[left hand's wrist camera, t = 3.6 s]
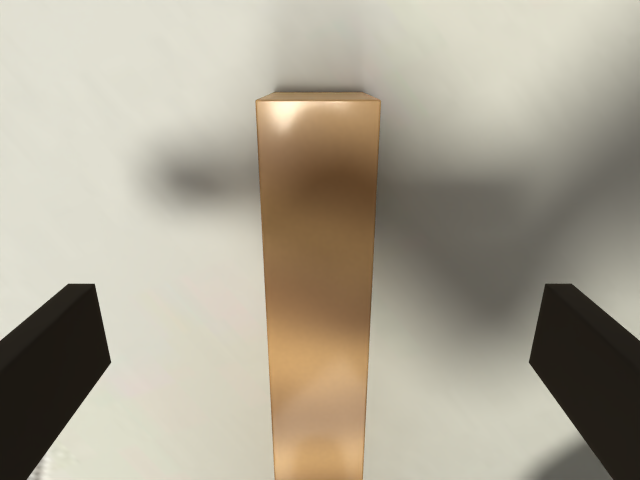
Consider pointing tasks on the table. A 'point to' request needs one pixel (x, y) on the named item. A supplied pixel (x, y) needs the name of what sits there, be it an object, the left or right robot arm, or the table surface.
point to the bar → (318, 275)
